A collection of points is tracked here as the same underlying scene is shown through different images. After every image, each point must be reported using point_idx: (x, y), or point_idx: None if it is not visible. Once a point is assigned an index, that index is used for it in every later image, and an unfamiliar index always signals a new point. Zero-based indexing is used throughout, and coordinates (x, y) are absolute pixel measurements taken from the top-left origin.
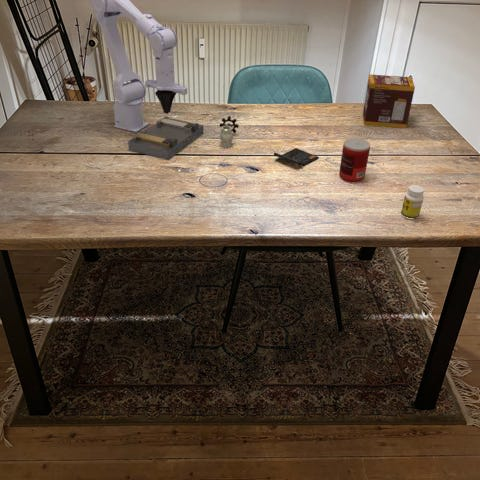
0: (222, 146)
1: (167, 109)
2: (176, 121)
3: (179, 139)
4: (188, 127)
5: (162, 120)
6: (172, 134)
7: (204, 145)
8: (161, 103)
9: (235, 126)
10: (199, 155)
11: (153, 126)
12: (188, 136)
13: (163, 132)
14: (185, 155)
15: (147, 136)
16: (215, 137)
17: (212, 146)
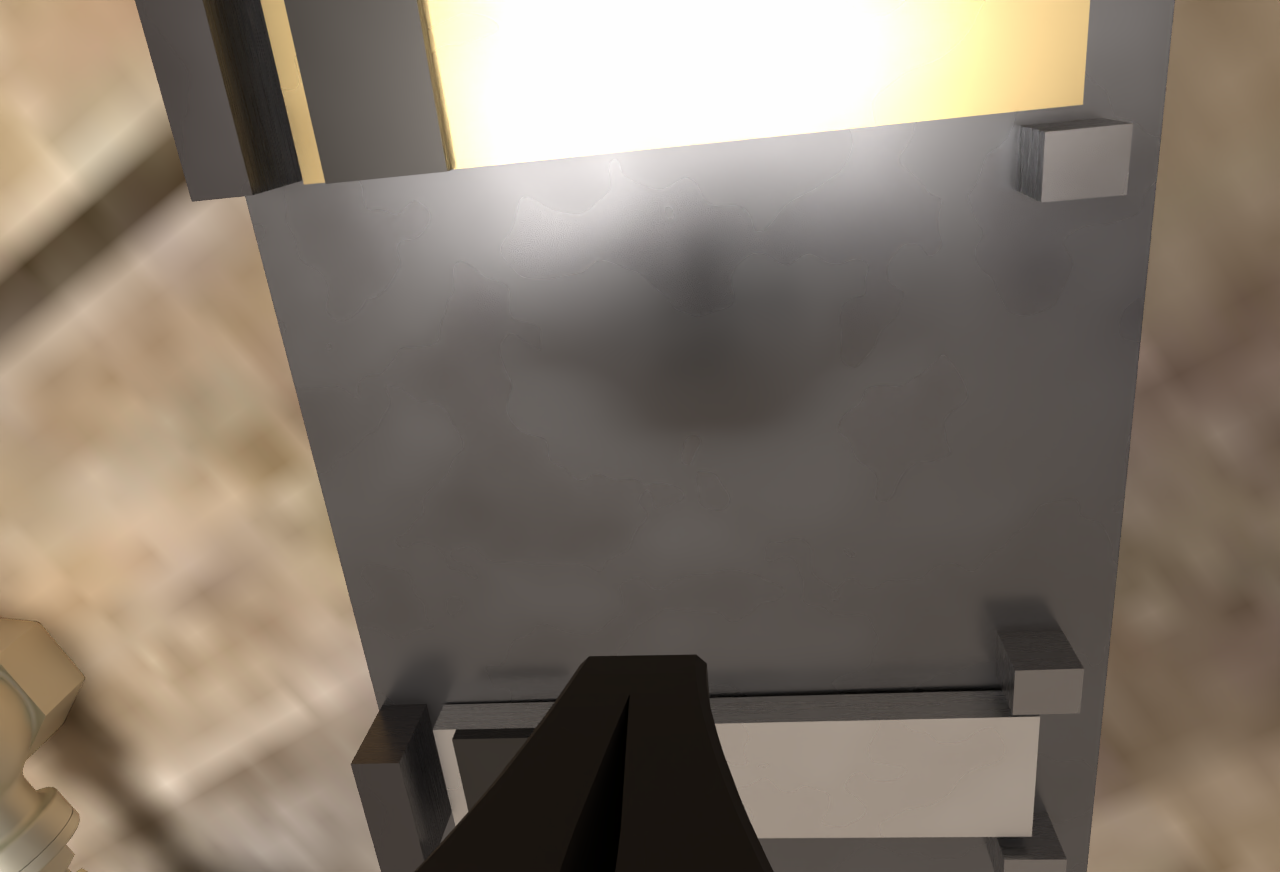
0: (10, 626)
1: (539, 746)
2: (787, 826)
3: (357, 358)
4: (472, 734)
5: (1024, 762)
6: (586, 457)
7: (214, 556)
8: (717, 856)
9: None
10: (30, 268)
11: (1084, 555)
12: (332, 530)
13: (774, 446)
14: (169, 150)
15: (875, 29)
16: (278, 790)
17: (120, 581)
